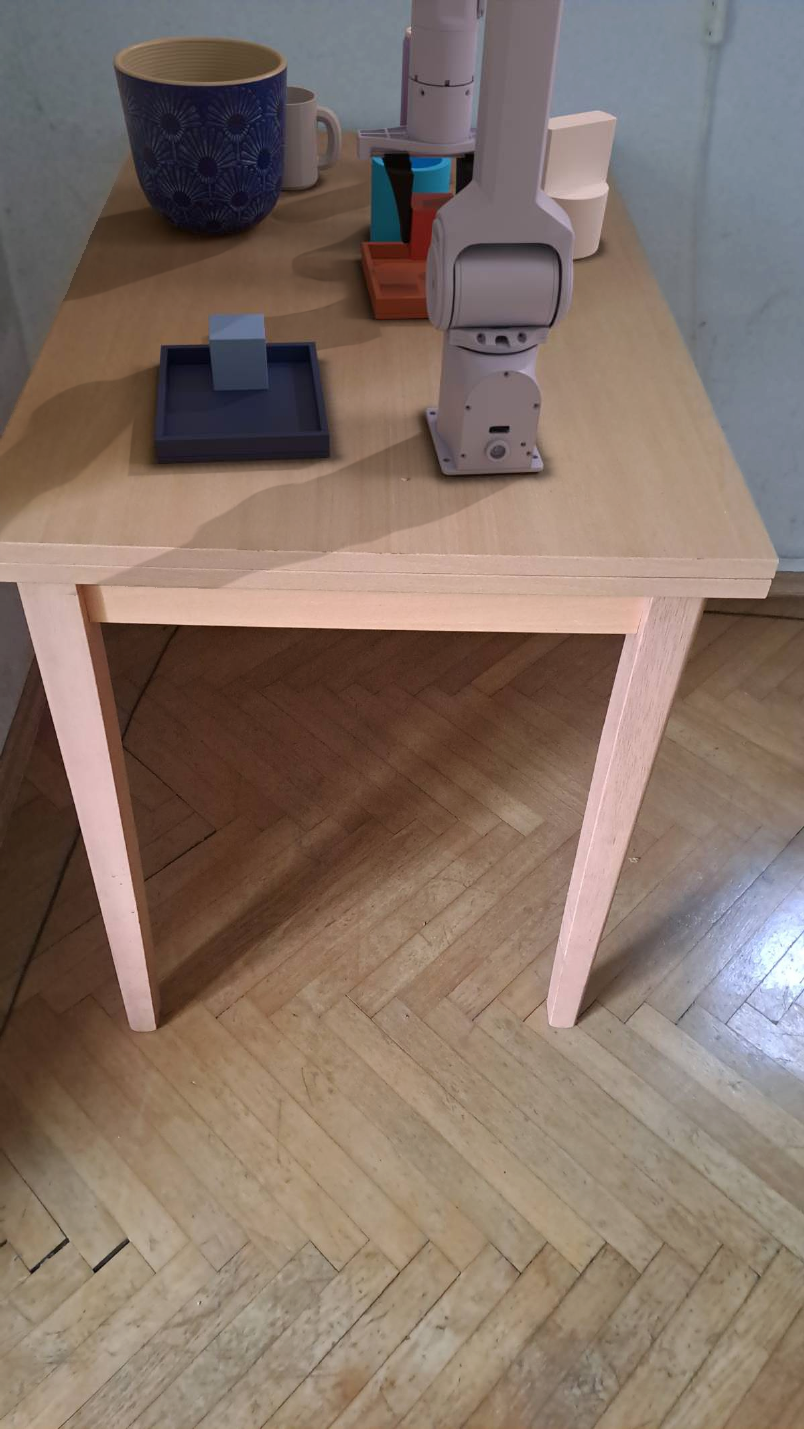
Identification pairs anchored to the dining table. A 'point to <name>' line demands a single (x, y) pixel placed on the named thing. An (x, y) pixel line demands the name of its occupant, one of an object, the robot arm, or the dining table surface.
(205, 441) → the blue tray
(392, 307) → the tray
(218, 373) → the blue block
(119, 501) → the dining table surface
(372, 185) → the mug
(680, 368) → the dining table surface
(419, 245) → the red block
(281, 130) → the planter
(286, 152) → the cup
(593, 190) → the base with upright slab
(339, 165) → the dining table surface
